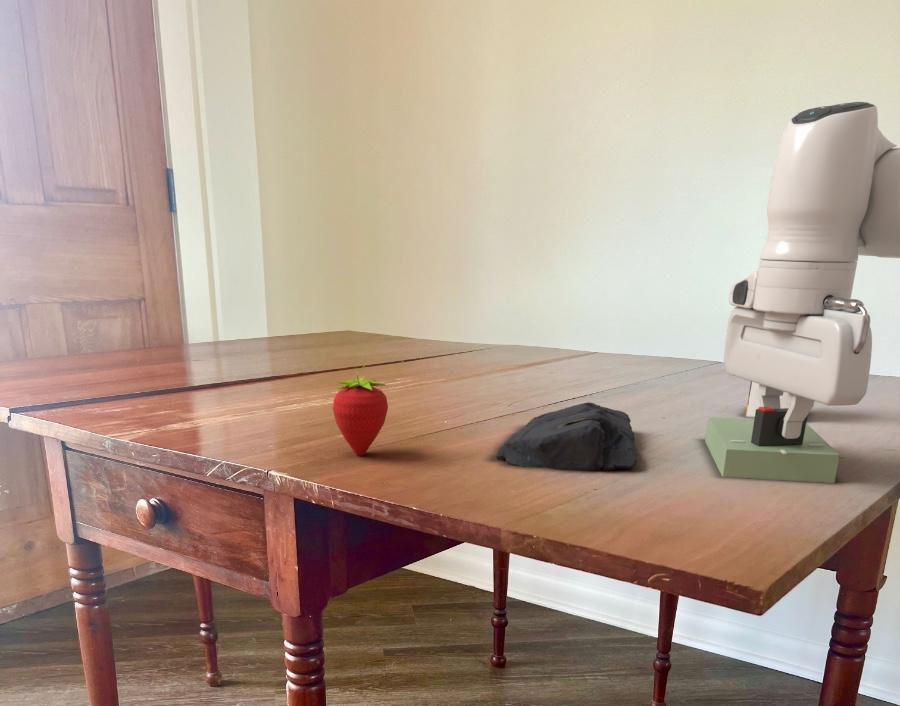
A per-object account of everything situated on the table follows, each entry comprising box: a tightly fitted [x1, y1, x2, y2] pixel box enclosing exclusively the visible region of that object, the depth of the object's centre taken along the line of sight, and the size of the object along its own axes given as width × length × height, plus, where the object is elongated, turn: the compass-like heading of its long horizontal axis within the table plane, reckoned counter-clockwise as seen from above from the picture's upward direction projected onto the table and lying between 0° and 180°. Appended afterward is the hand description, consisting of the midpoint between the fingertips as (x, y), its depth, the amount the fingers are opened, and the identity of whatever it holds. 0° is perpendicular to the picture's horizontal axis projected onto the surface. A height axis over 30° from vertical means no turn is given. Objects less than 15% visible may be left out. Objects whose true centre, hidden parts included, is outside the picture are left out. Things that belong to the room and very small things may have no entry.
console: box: [704, 416, 841, 484], centre depth 95 cm, size 11×18×3 cm, turn 171°
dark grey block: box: [751, 407, 809, 446], centre depth 90 cm, size 5×2×4 cm, turn 100°
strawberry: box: [332, 363, 389, 457], centre depth 94 cm, size 6×8×10 cm
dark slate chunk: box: [495, 401, 640, 472], centre depth 99 cm, size 15×22×5 cm
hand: (779, 433), depth 90 cm, fingers closed, pressing on dark grey block
